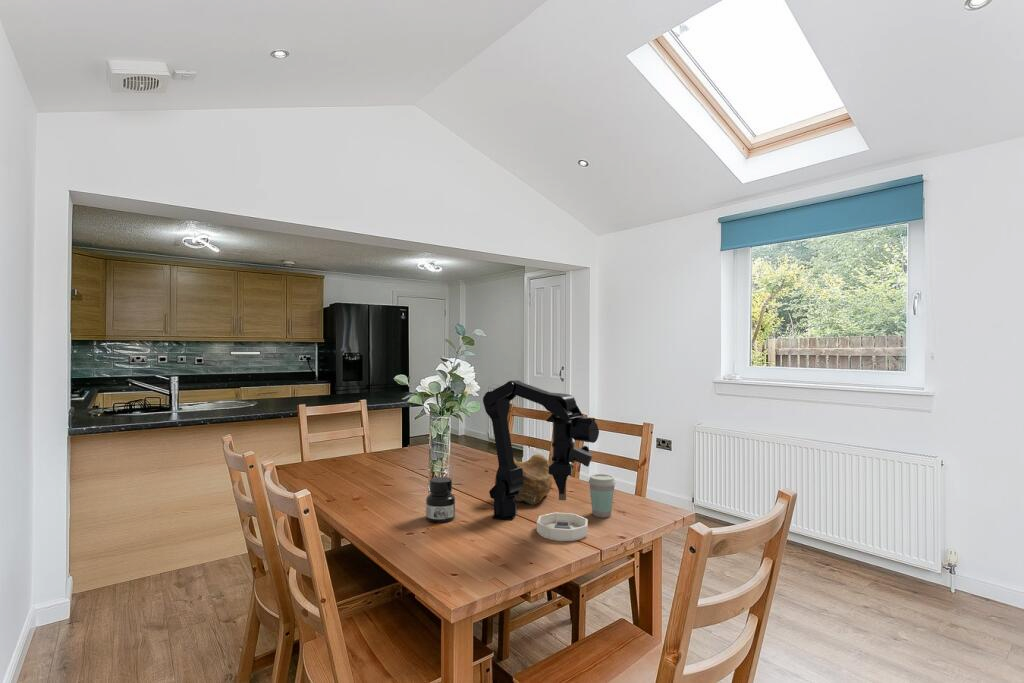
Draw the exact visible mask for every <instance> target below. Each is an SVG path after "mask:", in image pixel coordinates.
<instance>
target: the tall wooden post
mask: <svg viewBox="0 0 1024 683" xmlns="http://www.w3.org/2000/svg"><path fill="white" fill-rule="evenodd" d="M566 500H567V484H566V485H565V491H564V494H560V492H559V491H558V501H566Z"/></svg>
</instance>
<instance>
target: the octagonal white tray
mask: <svg viewBox="0 0 1024 683" xmlns="http://www.w3.org/2000/svg"><path fill="white" fill-rule="evenodd" d="M588 523H589V520H588V518H586V517H583V516H581V515H578V514H576V513H572V512H571V513H570V512H569V513H568V512H555V511H554V512H551V513H546V514H542V515H538V519H537V521H536V533H538V535H539V536H540V537H542V538H544V539H547V540H550V541H554V542H556V541H557V542H574V541H575V542H576V541H579V540H582V539H584V538H586V537H587V536H588V528H589V526H588V525H589V524H588Z"/></svg>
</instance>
